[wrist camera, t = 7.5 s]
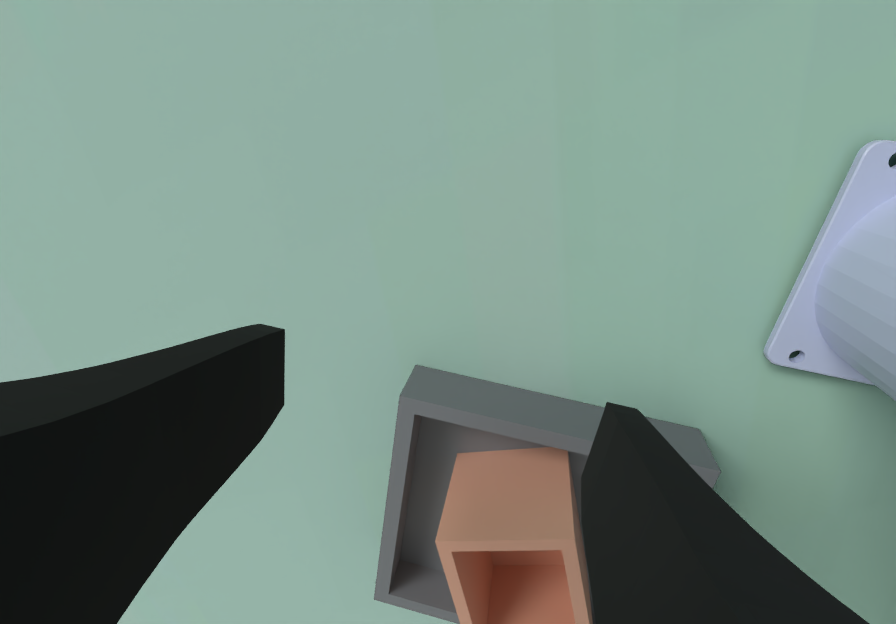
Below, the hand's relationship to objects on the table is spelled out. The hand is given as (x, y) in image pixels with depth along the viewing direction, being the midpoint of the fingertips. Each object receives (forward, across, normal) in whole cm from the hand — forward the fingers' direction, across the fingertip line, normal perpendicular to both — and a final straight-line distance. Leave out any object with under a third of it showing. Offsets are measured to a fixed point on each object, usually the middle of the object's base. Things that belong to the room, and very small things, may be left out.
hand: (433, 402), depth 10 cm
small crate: (+9, -4, +11) cm, 15 cm away
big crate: (+9, -4, +11) cm, 15 cm away
